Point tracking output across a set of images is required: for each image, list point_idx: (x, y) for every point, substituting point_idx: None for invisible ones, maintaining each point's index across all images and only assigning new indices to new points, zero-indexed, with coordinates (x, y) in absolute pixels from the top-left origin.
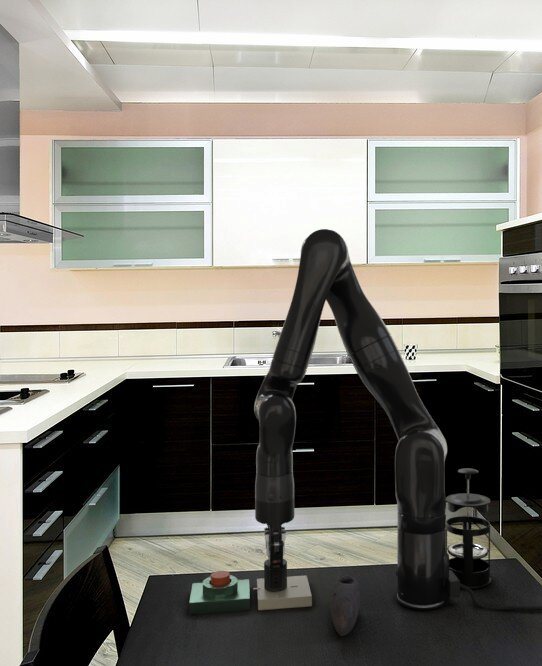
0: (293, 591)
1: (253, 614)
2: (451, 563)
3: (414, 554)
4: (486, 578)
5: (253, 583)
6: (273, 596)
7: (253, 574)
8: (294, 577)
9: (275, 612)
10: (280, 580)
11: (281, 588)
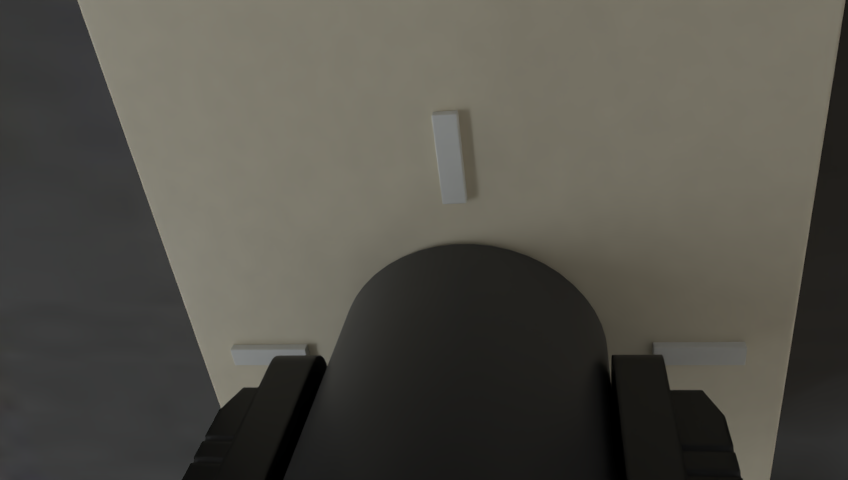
0: (619, 168)
1: (809, 452)
2: None
3: None
4: None
5: (176, 432)
6: (716, 378)
7: (3, 426)
8: (169, 148)
9: (832, 292)
10: (672, 428)
11: (593, 322)
